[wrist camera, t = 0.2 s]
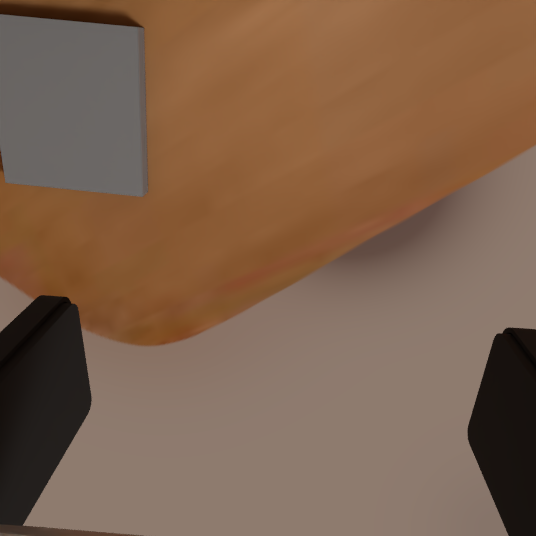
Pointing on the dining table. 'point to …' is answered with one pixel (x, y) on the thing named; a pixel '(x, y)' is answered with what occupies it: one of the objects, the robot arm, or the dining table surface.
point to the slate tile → (73, 105)
